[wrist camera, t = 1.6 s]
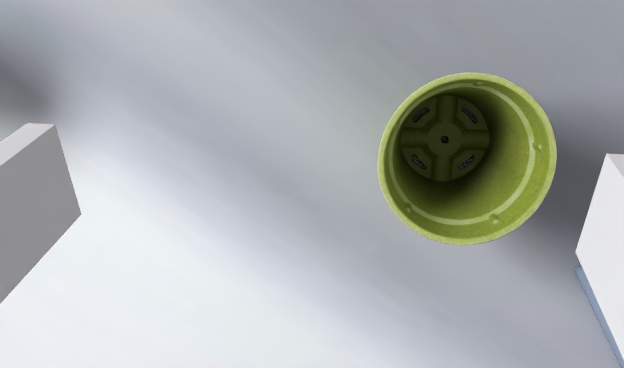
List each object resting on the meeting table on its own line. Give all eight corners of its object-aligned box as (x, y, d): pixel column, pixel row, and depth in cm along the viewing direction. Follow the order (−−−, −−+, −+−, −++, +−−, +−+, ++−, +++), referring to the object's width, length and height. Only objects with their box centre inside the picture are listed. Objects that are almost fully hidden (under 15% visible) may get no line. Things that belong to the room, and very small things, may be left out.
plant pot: (346, 139, 37) (341, 164, 29) (445, 38, 35) (471, 34, 27) (440, 228, 38) (461, 277, 30) (541, 135, 36) (596, 160, 28)
